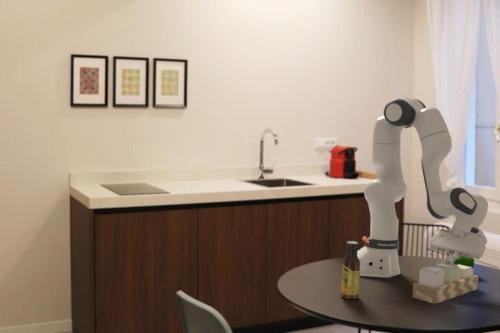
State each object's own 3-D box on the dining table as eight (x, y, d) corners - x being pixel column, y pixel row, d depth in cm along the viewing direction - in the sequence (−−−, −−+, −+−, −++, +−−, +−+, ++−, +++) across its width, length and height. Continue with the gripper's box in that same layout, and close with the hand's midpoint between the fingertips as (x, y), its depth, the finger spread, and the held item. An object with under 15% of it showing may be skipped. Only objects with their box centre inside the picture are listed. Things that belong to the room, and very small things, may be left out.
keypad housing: (455, 283, 237) (456, 271, 236) (477, 289, 230) (478, 276, 230) (412, 297, 218) (413, 283, 217) (434, 304, 211) (435, 289, 210)
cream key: (457, 282, 235) (458, 264, 234) (472, 285, 230) (473, 267, 229) (449, 284, 231) (450, 266, 230) (463, 288, 226) (464, 269, 225)
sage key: (443, 280, 228) (444, 261, 227) (458, 284, 223) (459, 265, 223) (434, 283, 224) (435, 264, 223) (449, 287, 219) (450, 267, 219)
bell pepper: (464, 271, 255) (465, 248, 254) (477, 277, 247) (479, 252, 246) (447, 273, 252) (448, 249, 251) (460, 278, 244) (461, 253, 243)
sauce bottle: (338, 294, 219) (340, 239, 218) (356, 294, 220) (358, 239, 218) (343, 300, 213) (345, 243, 211) (360, 300, 213) (363, 244, 212)
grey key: (428, 285, 221) (429, 266, 220) (443, 289, 217) (444, 269, 216) (418, 288, 217) (419, 268, 217) (433, 292, 213) (434, 272, 212)
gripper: (435, 223, 234) (419, 251, 229) (486, 231, 219) (470, 262, 213) (441, 233, 238) (426, 261, 232) (491, 242, 222) (476, 273, 217)
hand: (448, 262), depth 223 cm, fingers closed
